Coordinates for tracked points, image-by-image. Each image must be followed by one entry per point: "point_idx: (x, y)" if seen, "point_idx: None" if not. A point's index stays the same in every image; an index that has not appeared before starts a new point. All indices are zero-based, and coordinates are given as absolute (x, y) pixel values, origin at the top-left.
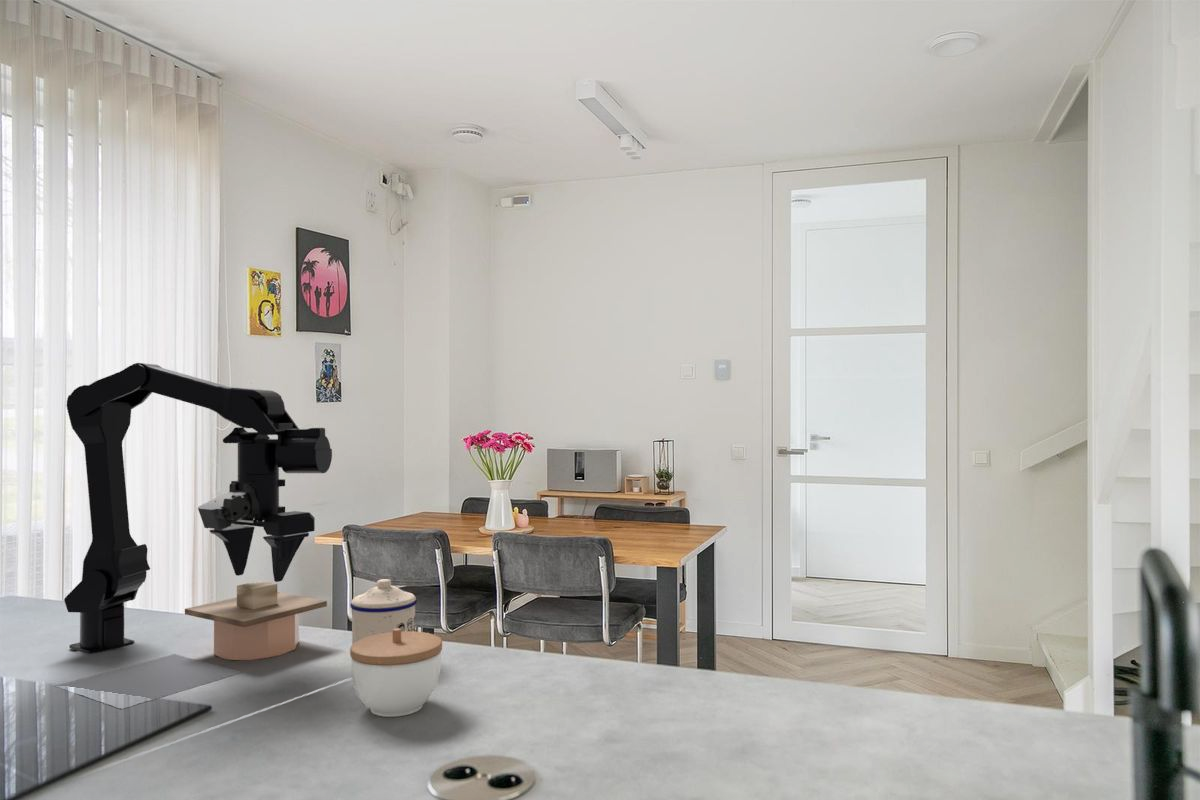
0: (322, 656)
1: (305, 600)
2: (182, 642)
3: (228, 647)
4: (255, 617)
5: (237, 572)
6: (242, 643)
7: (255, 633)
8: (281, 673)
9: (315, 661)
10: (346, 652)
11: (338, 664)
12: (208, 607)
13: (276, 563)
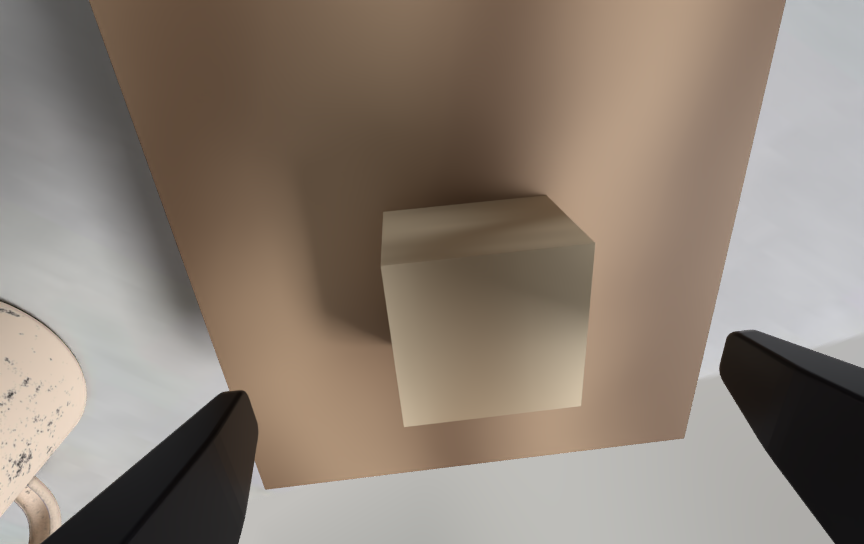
0: (195, 296)
1: (354, 446)
2: (804, 79)
3: None
4: (155, 105)
5: (747, 347)
6: None
7: None
8: (77, 96)
9: (151, 254)
10: (184, 361)
11: (59, 281)
12: (672, 61)
13: (65, 526)
